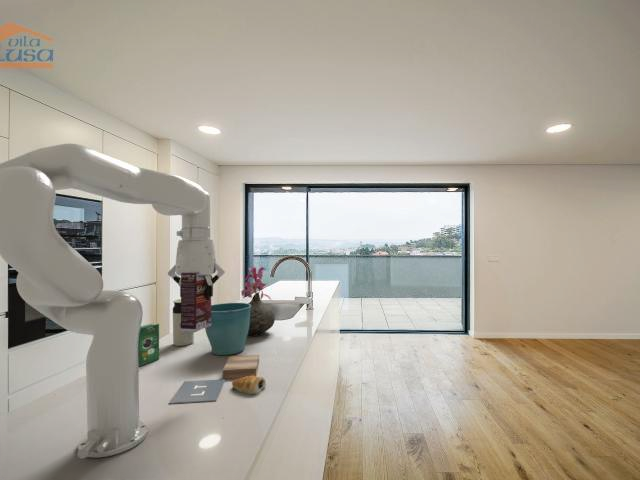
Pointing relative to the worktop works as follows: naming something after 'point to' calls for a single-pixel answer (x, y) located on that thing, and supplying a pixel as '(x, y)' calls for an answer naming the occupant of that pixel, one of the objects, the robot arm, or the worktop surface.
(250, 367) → the light tan stand
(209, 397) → the gray card
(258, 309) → the vase
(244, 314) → the flower pot
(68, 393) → the worktop surface
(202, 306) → the supplement box
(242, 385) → the pastry
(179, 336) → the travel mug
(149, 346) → the coffee box
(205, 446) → the worktop surface
